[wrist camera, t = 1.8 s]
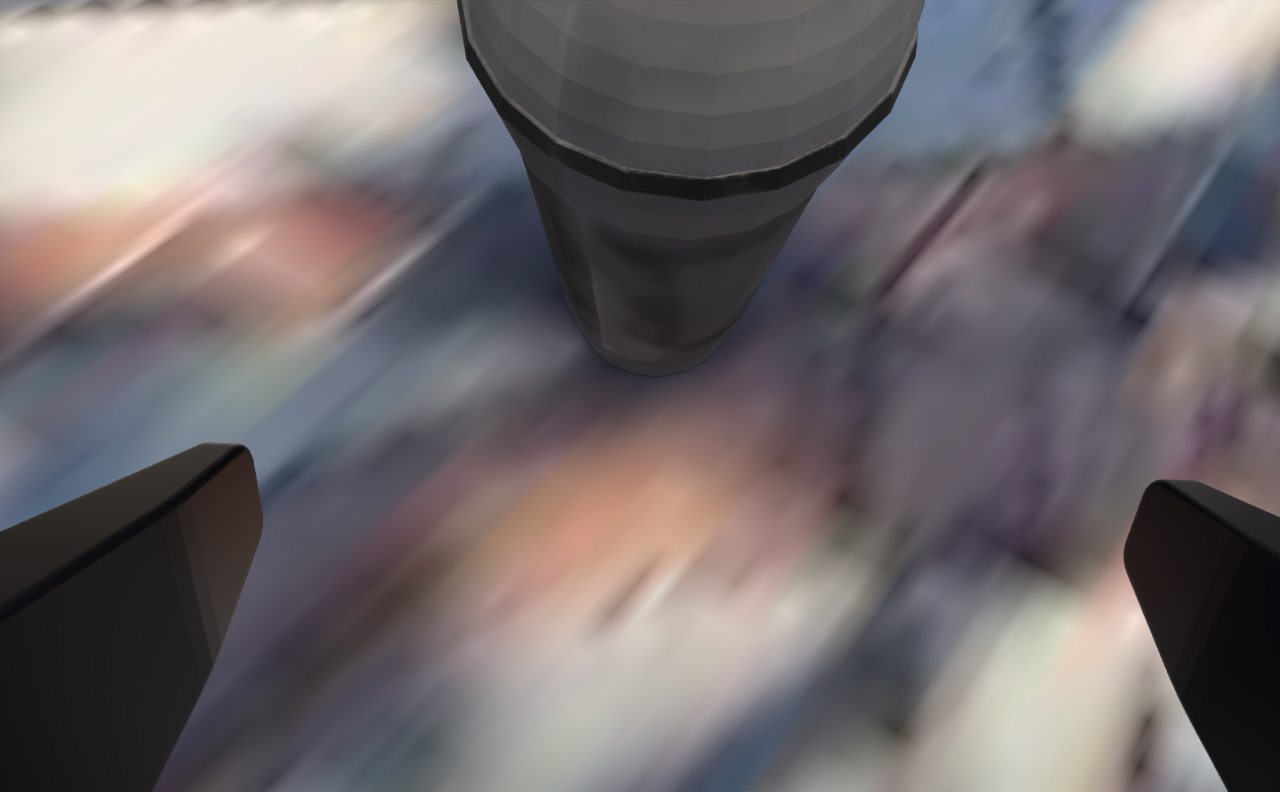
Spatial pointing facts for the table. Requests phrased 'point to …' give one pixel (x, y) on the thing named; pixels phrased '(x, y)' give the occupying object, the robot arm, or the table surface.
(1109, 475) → the table surface
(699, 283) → the beverage cup
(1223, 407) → the table surface
